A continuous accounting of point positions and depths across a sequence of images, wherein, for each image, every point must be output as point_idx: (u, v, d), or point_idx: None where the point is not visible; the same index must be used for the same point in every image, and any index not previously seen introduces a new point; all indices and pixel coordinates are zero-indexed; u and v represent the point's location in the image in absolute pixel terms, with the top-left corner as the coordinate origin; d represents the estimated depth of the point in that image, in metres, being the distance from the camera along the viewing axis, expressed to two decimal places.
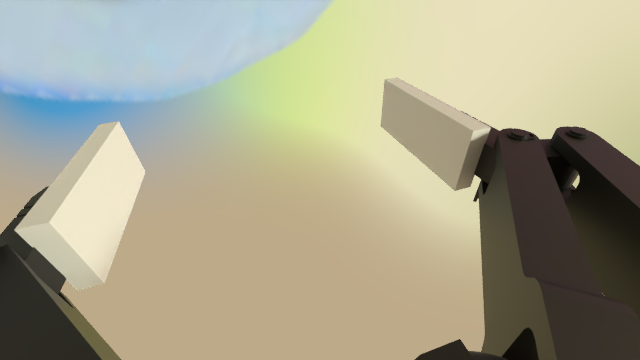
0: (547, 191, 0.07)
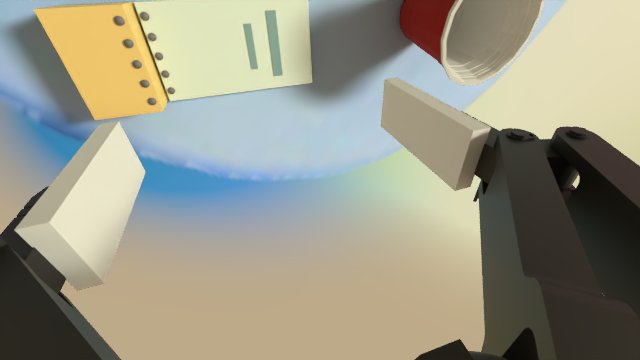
0: (547, 191, 0.07)
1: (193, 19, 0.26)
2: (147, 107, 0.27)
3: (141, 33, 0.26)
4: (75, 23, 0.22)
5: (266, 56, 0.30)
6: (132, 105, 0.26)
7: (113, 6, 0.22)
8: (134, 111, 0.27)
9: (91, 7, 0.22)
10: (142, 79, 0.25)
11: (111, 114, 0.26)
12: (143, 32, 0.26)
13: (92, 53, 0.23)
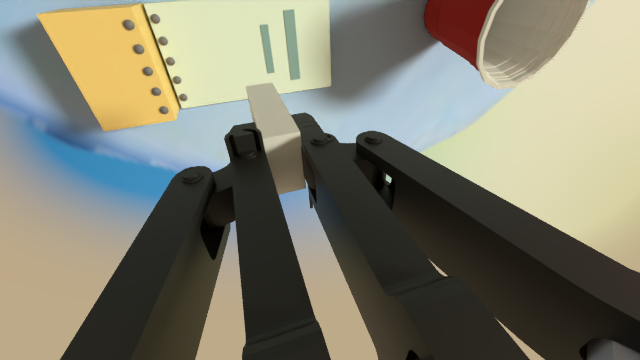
0: (362, 188, 0.08)
1: (206, 21, 0.24)
2: (159, 116, 0.25)
3: (151, 37, 0.24)
4: (82, 28, 0.20)
5: (283, 59, 0.28)
6: (143, 114, 0.25)
7: (122, 9, 0.20)
8: (145, 121, 0.25)
9: (98, 10, 0.20)
10: (153, 87, 0.24)
11: (121, 124, 0.25)
12: (153, 36, 0.25)
13: (100, 60, 0.22)
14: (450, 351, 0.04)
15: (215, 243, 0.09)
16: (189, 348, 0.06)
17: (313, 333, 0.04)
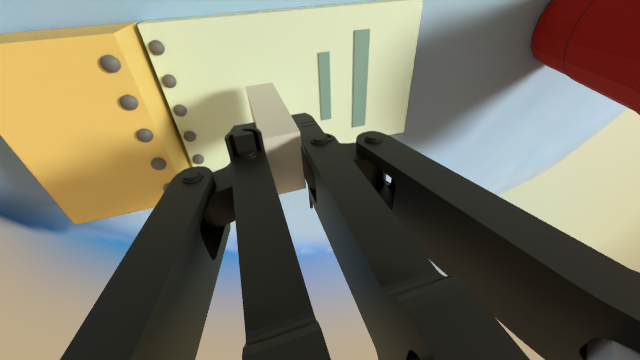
0: (362, 188, 0.08)
1: (238, 49, 0.15)
2: None
3: (151, 76, 0.15)
4: (24, 73, 0.11)
5: (345, 100, 0.19)
6: (137, 197, 0.16)
7: (97, 37, 0.11)
8: (140, 205, 0.16)
9: (53, 41, 0.11)
10: (153, 158, 0.15)
11: (102, 213, 0.15)
12: (154, 72, 0.16)
13: (62, 122, 0.12)
14: (450, 351, 0.04)
15: (215, 243, 0.09)
16: (189, 348, 0.06)
17: (313, 333, 0.04)
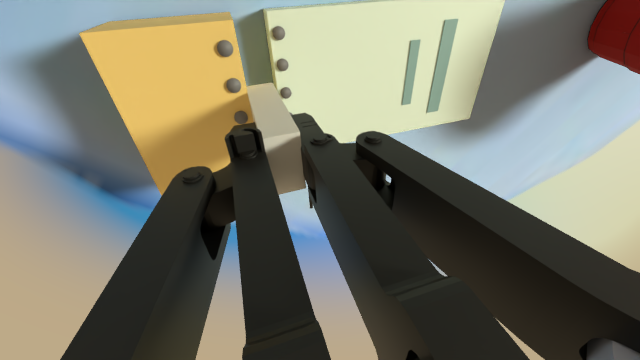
0: (362, 188, 0.08)
1: (344, 36, 0.17)
2: None
3: None
4: (151, 56, 0.12)
5: (425, 86, 0.20)
6: None
7: (218, 23, 0.12)
8: None
9: (181, 26, 0.12)
10: None
11: None
12: None
13: (174, 103, 0.13)
14: (450, 351, 0.04)
15: (215, 243, 0.09)
16: (190, 348, 0.06)
17: (313, 333, 0.04)
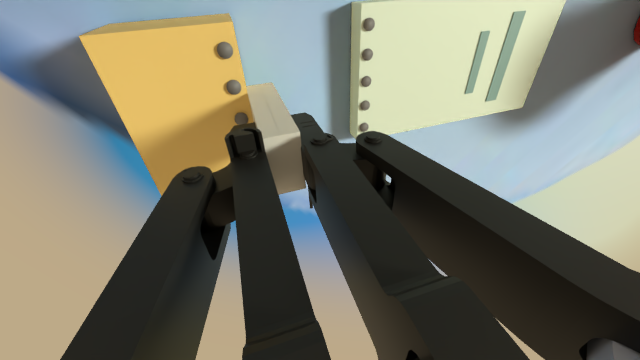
0: (362, 188, 0.08)
1: (425, 27, 0.18)
2: None
3: None
4: (151, 58, 0.12)
5: (488, 75, 0.21)
6: None
7: (218, 25, 0.12)
8: None
9: (181, 28, 0.12)
10: None
11: None
12: None
13: (174, 105, 0.13)
14: (450, 351, 0.04)
15: (215, 243, 0.09)
16: (190, 348, 0.06)
17: (313, 333, 0.04)
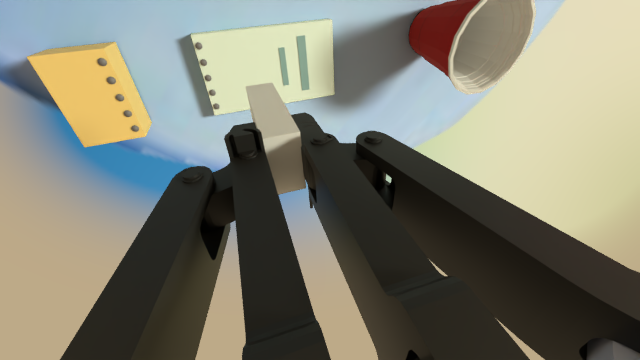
0: (362, 188, 0.08)
1: (237, 46, 0.31)
2: (131, 133, 0.30)
3: (123, 69, 0.29)
4: (64, 66, 0.25)
5: (296, 74, 0.35)
6: (117, 132, 0.30)
7: (96, 50, 0.25)
8: (119, 137, 0.30)
9: (77, 52, 0.25)
10: (125, 110, 0.29)
11: (99, 141, 0.29)
12: (125, 67, 0.30)
13: (80, 90, 0.26)
14: (450, 351, 0.04)
15: (215, 243, 0.09)
16: (189, 348, 0.06)
17: (313, 333, 0.04)
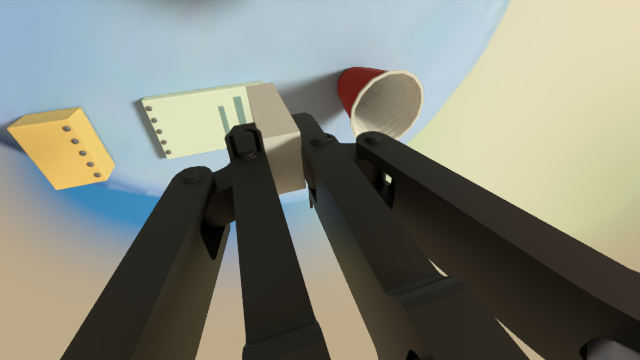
0: (362, 188, 0.08)
1: (182, 107, 0.38)
2: (94, 178, 0.37)
3: (87, 128, 0.36)
4: (36, 133, 0.32)
5: None
6: (83, 178, 0.37)
7: (61, 120, 0.32)
8: (85, 182, 0.37)
9: (46, 123, 0.32)
10: (88, 161, 0.36)
11: (68, 185, 0.37)
12: (89, 125, 0.37)
13: (50, 149, 0.34)
14: (450, 351, 0.04)
15: (215, 243, 0.09)
16: (189, 348, 0.06)
17: (313, 333, 0.04)
